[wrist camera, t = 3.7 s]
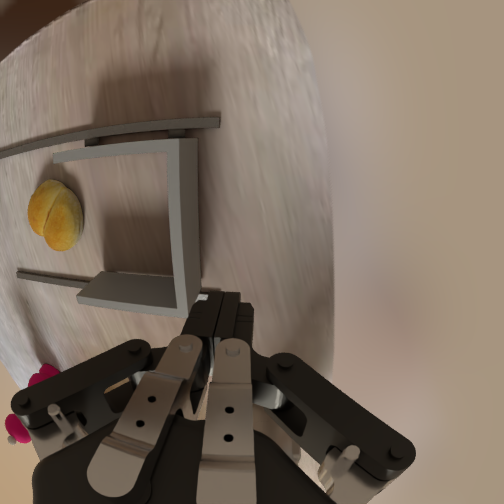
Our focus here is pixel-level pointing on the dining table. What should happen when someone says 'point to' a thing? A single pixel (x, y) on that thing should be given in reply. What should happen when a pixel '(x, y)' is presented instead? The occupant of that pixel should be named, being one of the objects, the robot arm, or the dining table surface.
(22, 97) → the dining table surface
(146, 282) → the frame
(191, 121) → the track
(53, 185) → the bread roll
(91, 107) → the dining table surface
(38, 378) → the pepper mill
